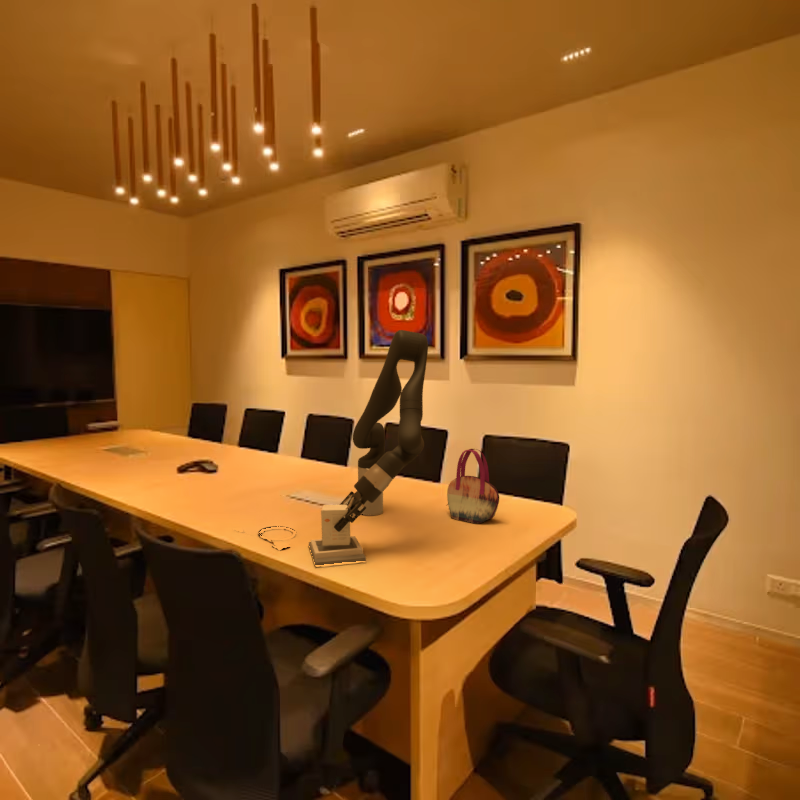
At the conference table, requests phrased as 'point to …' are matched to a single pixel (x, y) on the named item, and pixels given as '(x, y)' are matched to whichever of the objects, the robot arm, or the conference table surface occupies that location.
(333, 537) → the small box
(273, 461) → the conference table surface
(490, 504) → the handbag
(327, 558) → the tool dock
